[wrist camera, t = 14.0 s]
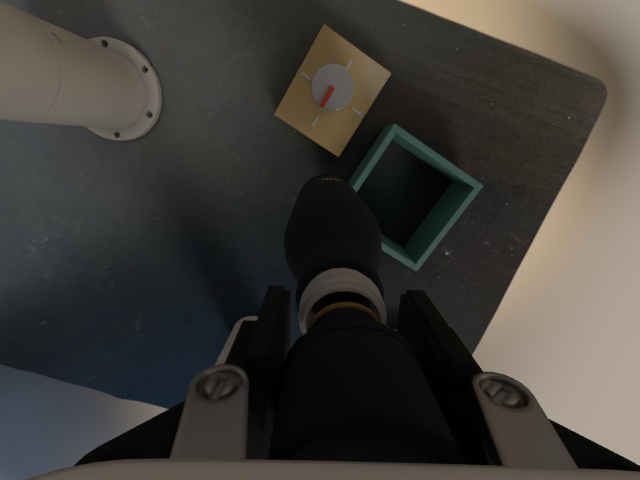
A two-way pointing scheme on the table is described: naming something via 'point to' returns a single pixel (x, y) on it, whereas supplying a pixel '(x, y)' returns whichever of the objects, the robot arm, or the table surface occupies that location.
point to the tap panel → (341, 126)
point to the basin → (441, 213)
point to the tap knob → (332, 88)
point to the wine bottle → (349, 347)
